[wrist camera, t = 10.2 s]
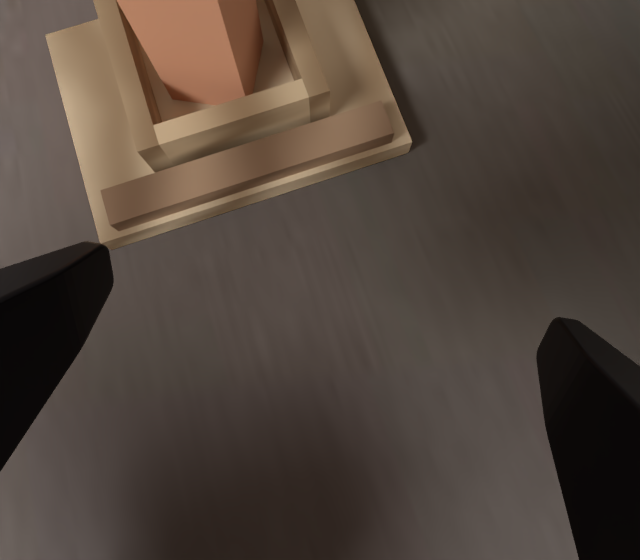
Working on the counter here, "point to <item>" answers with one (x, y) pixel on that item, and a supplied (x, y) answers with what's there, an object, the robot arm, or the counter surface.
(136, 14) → the block
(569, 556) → the counter surface
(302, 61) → the jig
